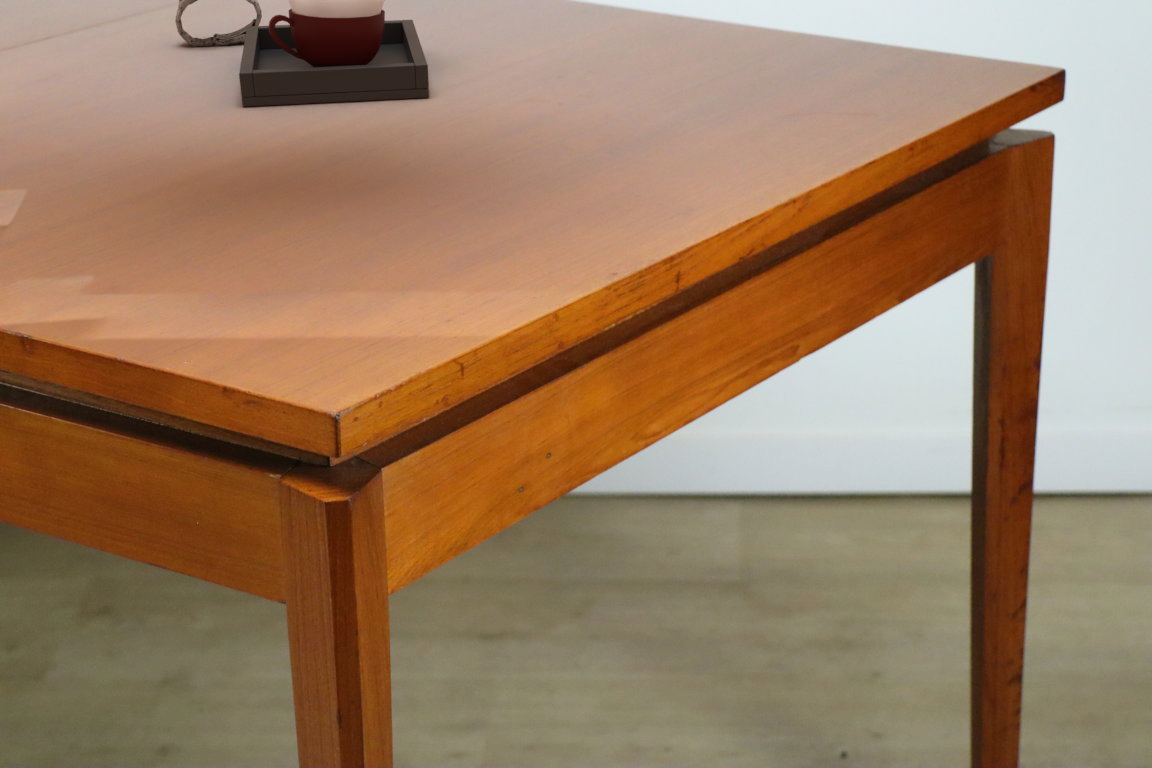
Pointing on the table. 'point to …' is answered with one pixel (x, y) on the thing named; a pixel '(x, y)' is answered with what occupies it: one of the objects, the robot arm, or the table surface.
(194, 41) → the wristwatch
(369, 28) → the cocoa
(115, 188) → the table surface
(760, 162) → the table surface
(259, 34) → the dark rectangular tray
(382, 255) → the table surface
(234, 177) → the table surface
